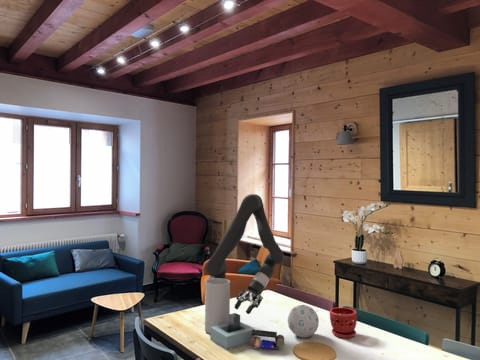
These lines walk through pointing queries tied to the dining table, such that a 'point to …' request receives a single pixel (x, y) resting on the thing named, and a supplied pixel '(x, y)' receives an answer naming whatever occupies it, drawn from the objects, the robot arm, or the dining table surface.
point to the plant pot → (343, 322)
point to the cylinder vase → (216, 302)
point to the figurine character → (266, 343)
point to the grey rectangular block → (233, 322)
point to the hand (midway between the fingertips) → (241, 310)
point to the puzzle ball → (303, 321)
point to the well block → (231, 336)
